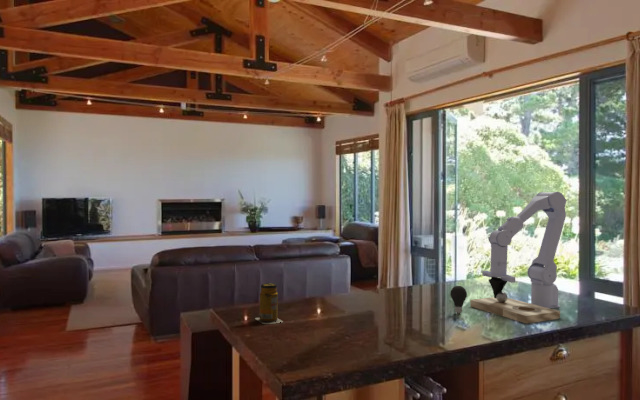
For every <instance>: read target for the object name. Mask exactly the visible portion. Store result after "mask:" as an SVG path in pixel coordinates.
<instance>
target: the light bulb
mask: <svg viewBox="0 0 640 400" xmlns="http://www.w3.org/2000/svg"><path fill="white" fill-rule="evenodd" d="M467 295H468V293H467V290H466V288H465V287H463V286H462V285H455V286H453V287H452V288H451V290H450V297H451V300H452V302H453V305H454V312H455V313H456V314H457V315H460V314H461V313H463V306H464V302H465V301H466V299H467Z"/></svg>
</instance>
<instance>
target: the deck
mask: <svg viewBox="0 0 640 400" xmlns="http://www.w3.org/2000/svg"><path fill="white" fill-rule="evenodd" d="M530 303H531V302H530ZM530 303H529V302H526V301H522V300H518V299H514V298H509V297H508V299H507V301H506V302H504V303H501V302H499V301H498V300H497V299H496V298H494V296H493V297H485V298H476V299H475V298H474V299H470V307H472V308H475V309H478V310H481V311H485V312H488V313H490V314H494V315H497V316H501V317H504V318H508V319H511V320H514V321H518V322H521V323H524V324H527V325H528V324H533V323H539V322H545V321H553V320H560V319H561V310H557V309H554V308H545V307H542V306H538V305H534V304H530ZM559 318H560V319H559Z"/></svg>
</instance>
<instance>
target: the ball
mask: <svg viewBox="0 0 640 400" xmlns="http://www.w3.org/2000/svg"><path fill="white" fill-rule="evenodd" d="M508 298H509V297H508V294H507V293H506V292H504V291H502V292H499V293H497V295H496V299H497V300H498V301H499V302H501V303H504V302H506V301H507V299H508Z"/></svg>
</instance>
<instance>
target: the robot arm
mask: <svg viewBox="0 0 640 400" xmlns="http://www.w3.org/2000/svg"><path fill="white" fill-rule="evenodd" d="M566 205H567V199H566V198H565V195H564V194H563V193H562V192H560V191H553V192H552V191H540V192H538V193H537V194H536V195H535V196H533V197H532V199H531V201H530V202H529V203H528V204H527V205H526V206H525V207H524V208H523V209H522V210H521V211H520V212H519V213H518V214H517V215H516V216H510V217H507V218H506V221H505V222H504V223H503V224H502V225H500V226H498V227H497V229H496V230H493V231H491V232H490V234H489V236H488V237H487V238H488V242H489V243H490V270H482V271H481V272H482V273H481V276H482V277H488V278H489V279H488V283H489V284H490V286H491V290H492V293H493V297H494V298H496V295H497V293H499V292H503V289H504V288H505V286H506V284H508V282H509V283H516V277H515V276H513V275H509V274H507V273H508V272H507V271H508V270H507V268H508V246H509V245H511V243H512V241H513V240H512V239H513V238H514V237H515V236H516V235H517V234H518V233H519V232H520V231H521V230H522V229H523V228H524V223H525V222H526V221H528V220H529V219H530V218H531V217H533V216H534V215H535V214H536V213H537V212H539V211H543V213H545V214H546V216H547V217H548V219H547V223H546V227H545V230H544V233H543V237H542V242H541V245H540V248H539V251H538V255H537V257H535V258H534V259H533V260H532V262H531V264H530V265H529V266H528V268H527V272H526V274H527V276H528V278H529V279H530V284H531V285H530V286H531V288H530V289H531V290H530V291H531V293H530V297H531V300H530V304H534V305H538V306H542V307H545V308H549V309H556V308H561V305H559V289H558V286H557V285H556V284H555V282H556V279H557V274H558V273H557V268H558V266H557V264H556V263H555V261H554V260H555V257H556V253H557V249H558V245H559V242H560V238H561V235H562V232H563V228H564V224H565V221H566V216H567V215H566V214H567V213H566Z"/></svg>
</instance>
